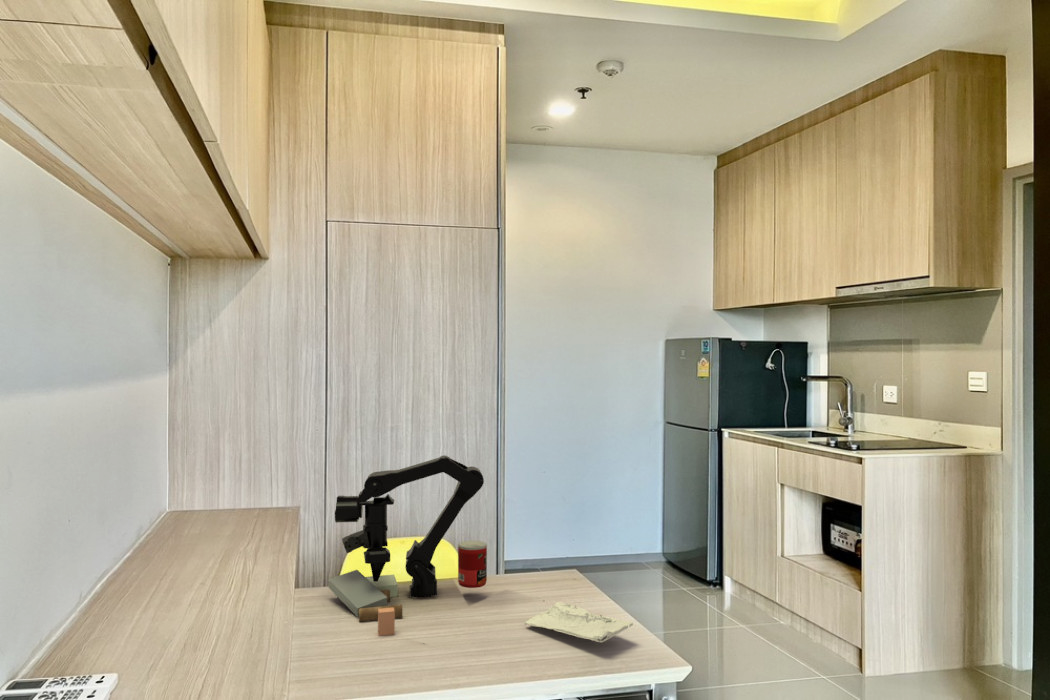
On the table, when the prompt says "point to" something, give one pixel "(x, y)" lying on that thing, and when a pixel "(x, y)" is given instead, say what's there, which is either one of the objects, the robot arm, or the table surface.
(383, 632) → the orange upright block
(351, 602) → the slab
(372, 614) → the roller
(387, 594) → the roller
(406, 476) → the robot arm
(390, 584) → the block
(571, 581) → the table surface
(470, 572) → the canned food
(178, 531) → the table surface
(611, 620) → the terrain model
